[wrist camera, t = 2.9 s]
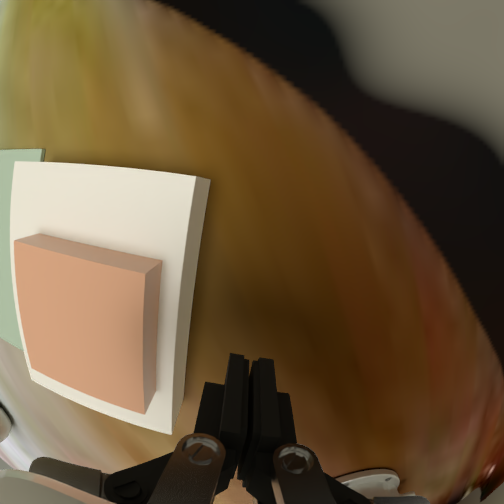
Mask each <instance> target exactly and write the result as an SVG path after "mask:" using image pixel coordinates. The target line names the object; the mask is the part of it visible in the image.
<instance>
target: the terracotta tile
mask: <svg viewBox="0 0 504 504" xmlns="http://www.w3.org/2000/svg"><path fill="white" fill-rule="evenodd" d="M162 261H163V260H158V259H153V258H149V257H144V256H139V255H134V254H129V253H125V252H120V251H115V250H111V249H106V248H101V247H97V246H92V245H88V244H83V243H79V242H74V241H70V240H66V239H61V238H57V237H53V236H48V235H44V234H40V233H38V234H34V235H31V236H27V237H24V238H20V239H17V240H14V262H15V276H16V287H17V296H18V304H19V311H20V317H21V323H22V329H23V334H24V339H25V343H26V348H27V352H28V356H29V361H30V364H31V368H32V369H34V370H36V371H38V372H40V373H42V374H44V375H46V376H48V377H50V378H52V379H54V380H56V381H58V382H60V383H62V384H64V385H66V386H68V387H71V388H73V389H75V390H78V391H80V392H82V393H85V394H87V395H89V396H92V397H94V398H97V399H100V400H102V401H105V402H108V403H110V404H113V405H116V406H119V407H122V408H125V409H128V410H131V411H134V412H137V413H140V414H144V415H145V414H146V412H147V409H148V407H149V405H150V403H151V401H152V399H153V396H154V394H155V392H156V356H157V328H158V310H159V295H160V283H161V271H162Z"/></svg>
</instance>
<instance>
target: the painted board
mask: <svg viewBox="0 0 504 504" xmlns="http://www.w3.org/2000/svg"><path fill="white" fill-rule="evenodd" d="M210 181H211V180H210V179H206V178H201V177H197V176H190V175H183V174H176V173H168V172H160V171H152V170H143V169H134V168H124V167H113V166H102V165H89V164H74V163H56V162H27V161H15V163H14V171H13V180H12V191H11V206H10V258H11V273H12V284H13V293H14V301H15V308H16V315H17V321H18V326H19V331H20V336H21V341H22V345H23V350H24V354H25V358H26V362H27V366H28V369H29V373H30V376H31V380H33V381H34V382H36V383H38V384H40V385H42V386H44V387H46V388H48V389H50V390H51V391H53V392H55V393H57V394H60V395H62V396H64V397H66V398H68V399H70V400H72V401H75V402H77V403H79V404H81V405H84V406H86V407H88V408H91V409H93V410H96V411H98V412H101V413H103V414H106V415H109V416H111V417H114V418H117V419H120V420H123V421H126V422H129V423H132V424H135V425H138V426H141V427H144V428H148V429H151V430H155V431H158V432H162V433H166V434H170V435H172V432H173V429H174V426H175V423H176V420H177V417H178V414H179V411H180V408H181V405H182V402H183V398H184V384H185V372H186V360H187V349H188V339H189V329H190V320H191V311H192V302H193V294H194V286H195V278H196V270H197V263H198V256H199V249H200V242H201V235H202V229H203V223H204V216H205V210H206V204H207V198H208V192H209V187H210ZM38 233H40V234H44V235H48V236H53V237H57V238H61V239H66V240H70V241H74V242H79V243H83V244H88V245H92V246H97V247H101V248H106V249H111V250H115V251H120V252H125V253H129V254H134V255H139V256H144V257H149V258H153V259H158V260H163V261H162V271H161V283H160V295H159V310H158V328H157V356H156V392H155V394H154V396H153V399H152V401H151V403H150V405H149V407H148V409H147V412H146V414H145V415H144V414H140V413H137V412H134V411H131V410H128V409H125V408H122V407H119V406H116V405H113V404H110V403H108V402H105V401H102V400H100V399H97V398H94V397H92V396H89V395H87V394H85V393H82V392H80V391H78V390H75V389H73V388H71V387H68V386H66V385H64V384H62V383H60V382H58V381H56V380H54V379H52V378H50V377H48V376H46V375H44V374H42V373H40V372H38V371H36V370H34V369H32V368H31V364H30V361H29V356H28V352H27V348H26V343H25V339H24V334H23V329H22V323H21V317H20V311H19V304H18V296H17V287H16V276H15V262H14V240H17V239H20V238H24V237H27V236H31V235H34V234H38Z"/></svg>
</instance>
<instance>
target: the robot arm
mask: <svg viewBox="0 0 504 504" xmlns="http://www.w3.org/2000/svg"><path fill="white" fill-rule="evenodd" d="M237 465H238V473H237V479H238V480H243V483H242V487H246V491H247V492H249V493H250V494H251V495H252V496H253V504H430V502H429V501H428V500H427V499H426V498H424V497H422V496H415V492H414V491H410V492H406V493H404V494H399V493H398V491H397V488H398V486H399V483H400V480H399V477H398V475H397V473H396V472H394V471H392V470H387V469H373V470H366V471H361V472H356V473H353V474H349V475H345V476H342V477H339V478H336V479H334V478H332V477H331V476H329V475H328V474H326V473H324V472H323V470H322V467H321V465H320V462H319V460H318V458H317V456H316V454H315V453H314V452H313V451H312V450H311V449H310V448H308V447H306V446H304V445H301V444H297V440H296V433H295V427H294V420H293V414H292V407H291V401H290V396H289V394H288V393H281V392H277V388H276V379H275V369H274V361H273V359H266V358H259V359H258V361H254V360H253V362H252V367H251V371H250V375H249V360H247V359H244V355H239V354H233V353H230V357H229V362H228V368H227V373H226V379H225V384H224V385H221V384H215V383H210V382H205V385H204V389H203V394H202V398H201V402H200V407H199V411H198V416H197V420H196V425H195V430H194V433H192V434H189V435H186V436H184V437H183V438H181V439H180V441H179V442H178V443H177V446H176V448H175V450H174V452H171V453H169V454H166V455H164V456H161V457H159V458H156V459H153V460H151V461H148V462H145V463H142V464H139V465H137V466H134V467H131V468H128V469H124V470H121V471H118V472H115V473H113V474H107V473H102V472H101V470H97V469H92V468H88V467H83V466H79V465H75V464H71V463H67V462H63V461H60V460H56V459H53V458H49V457H40V458H37V459H35V460H34V461H33V462H32V464H31V466H30V469H29V472H27V471H22V470H14V469H3V470H0V504H213V502H214V499H215V495H217V494H219V493H221V492H222V491H224V490H226V489H227V488H228V485H229V482H230V479H233V477H234V474H235V471H236V468H237Z"/></svg>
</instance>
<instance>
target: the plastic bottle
mask: <svg viewBox="0 0 504 504" xmlns="http://www.w3.org/2000/svg"><path fill="white" fill-rule="evenodd" d="M10 431H11V421H10V419H9V417H8V416H7V414H6V413H5V412H4V410H3V409H2V408H1V407H0V442H2V441H3V440H4V439H6V438H7V437H8V435H9V433H10Z"/></svg>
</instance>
